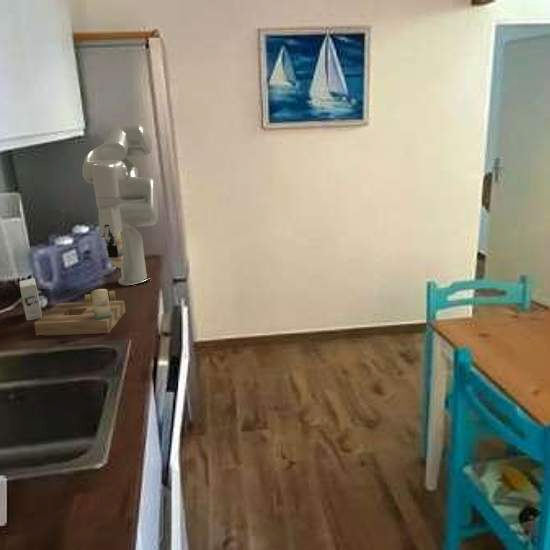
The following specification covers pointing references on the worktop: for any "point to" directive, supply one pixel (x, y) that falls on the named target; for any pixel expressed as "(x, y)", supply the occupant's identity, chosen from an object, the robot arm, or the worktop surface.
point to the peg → (118, 260)
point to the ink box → (30, 299)
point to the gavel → (110, 295)
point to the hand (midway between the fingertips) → (116, 254)
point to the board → (82, 316)
